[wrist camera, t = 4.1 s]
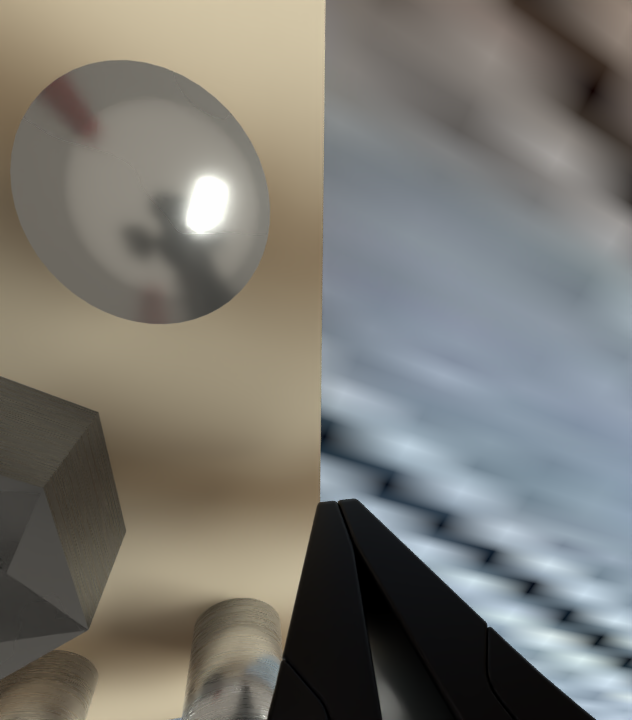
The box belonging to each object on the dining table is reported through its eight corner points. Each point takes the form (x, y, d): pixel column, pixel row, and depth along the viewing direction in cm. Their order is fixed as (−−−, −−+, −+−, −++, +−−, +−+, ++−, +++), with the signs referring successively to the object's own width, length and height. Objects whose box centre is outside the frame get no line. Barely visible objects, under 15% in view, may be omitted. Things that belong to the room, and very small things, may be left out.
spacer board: (312, 656, 15) (317, 693, 14) (-142, 731, 13) (-180, 781, 12) (314, -23, 7) (325, -63, 6) (-796, -122, 5) (-1078, -208, 4)
